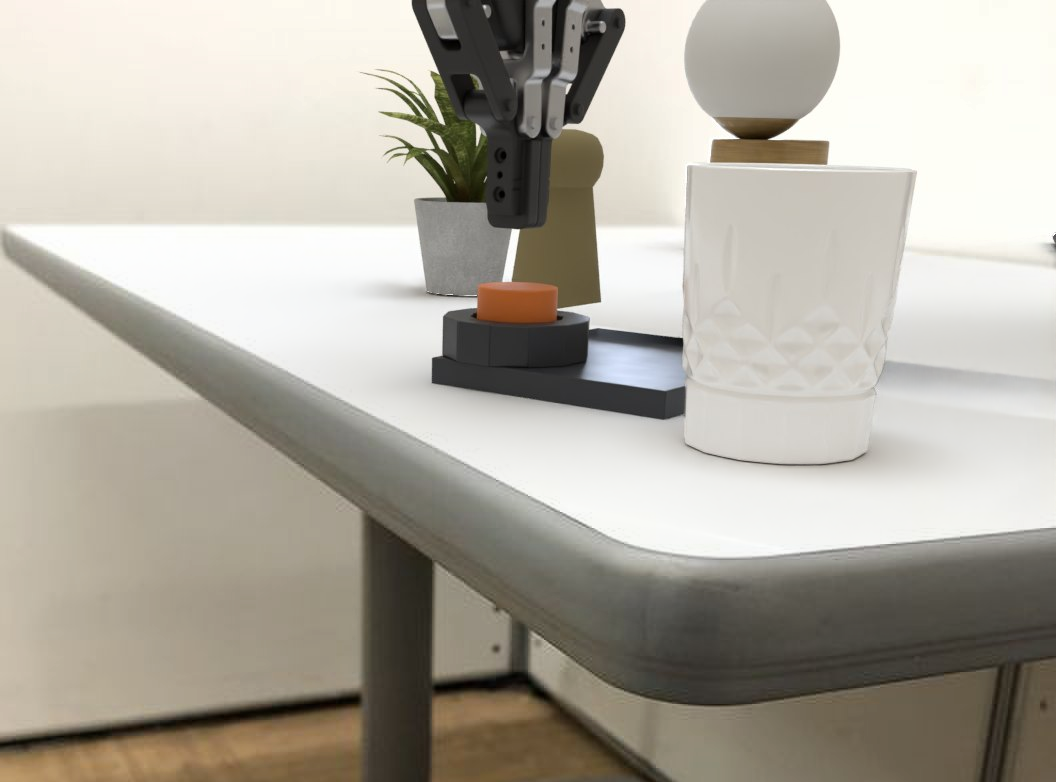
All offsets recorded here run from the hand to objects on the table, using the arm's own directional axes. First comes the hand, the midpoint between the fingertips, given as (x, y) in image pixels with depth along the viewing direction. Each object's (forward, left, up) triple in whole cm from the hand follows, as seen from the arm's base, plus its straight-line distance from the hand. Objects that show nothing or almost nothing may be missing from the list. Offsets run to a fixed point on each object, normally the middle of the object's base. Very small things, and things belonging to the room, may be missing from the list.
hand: (516, 227), depth 62 cm
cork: (-22, -12, -7) cm, 26 cm away
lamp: (-76, -26, -7) cm, 81 cm away
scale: (-4, +4, -7) cm, 9 cm away
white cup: (+4, +15, -7) cm, 17 cm away
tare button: (0, 0, -4) cm, 4 cm away
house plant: (-28, -25, -7) cm, 38 cm away
